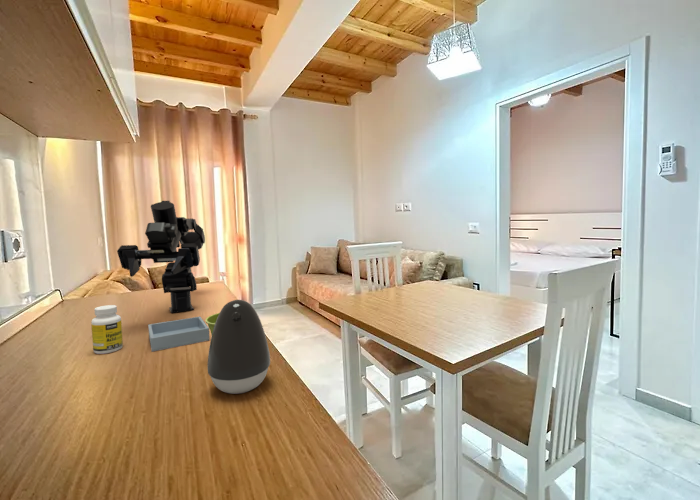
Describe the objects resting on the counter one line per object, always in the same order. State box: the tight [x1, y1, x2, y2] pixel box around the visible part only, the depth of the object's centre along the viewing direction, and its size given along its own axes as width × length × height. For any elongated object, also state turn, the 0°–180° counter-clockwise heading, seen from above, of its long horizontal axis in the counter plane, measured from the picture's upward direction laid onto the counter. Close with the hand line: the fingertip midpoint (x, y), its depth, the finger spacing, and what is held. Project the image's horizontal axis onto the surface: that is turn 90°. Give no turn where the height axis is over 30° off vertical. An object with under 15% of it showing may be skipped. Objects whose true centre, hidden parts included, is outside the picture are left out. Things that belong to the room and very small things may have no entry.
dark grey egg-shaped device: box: [207, 299, 271, 395], centre depth 57 cm, size 10×10×15 cm
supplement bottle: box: [90, 304, 124, 355], centre depth 75 cm, size 5×5×10 cm
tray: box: [147, 316, 211, 352], centre depth 82 cm, size 12×12×3 cm
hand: (151, 274), depth 82 cm, fingers open, 9 cm apart
